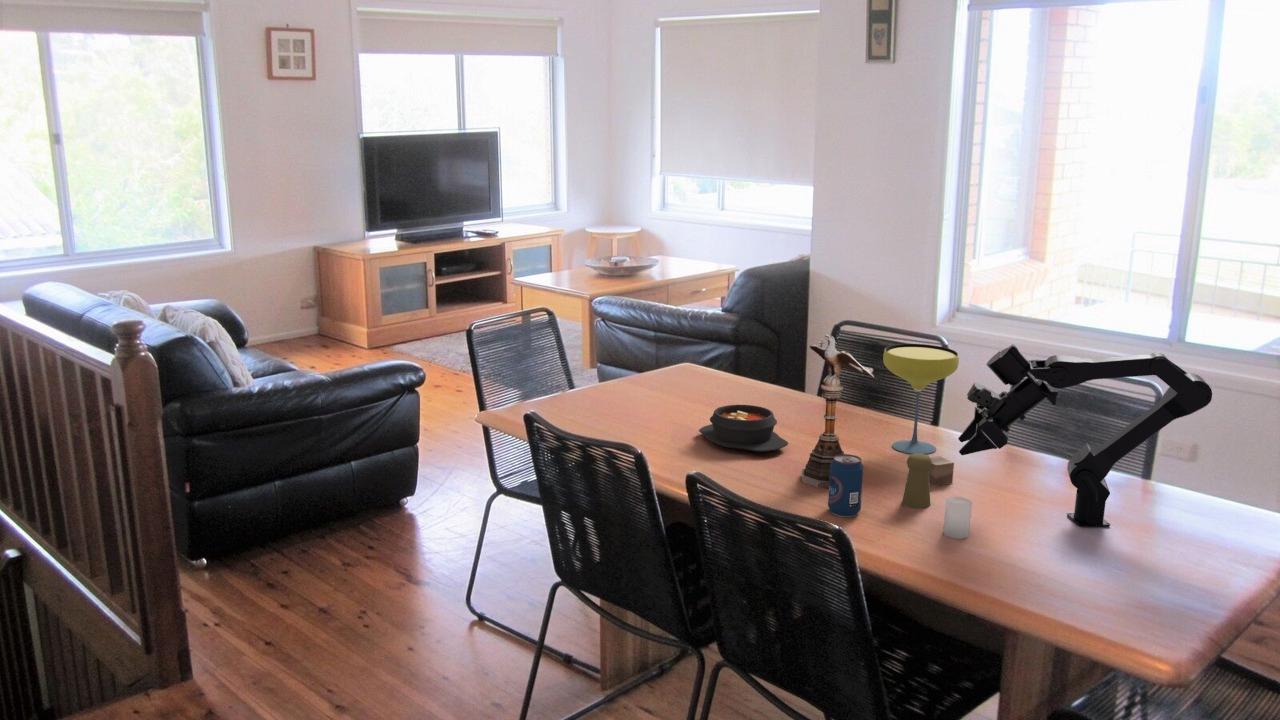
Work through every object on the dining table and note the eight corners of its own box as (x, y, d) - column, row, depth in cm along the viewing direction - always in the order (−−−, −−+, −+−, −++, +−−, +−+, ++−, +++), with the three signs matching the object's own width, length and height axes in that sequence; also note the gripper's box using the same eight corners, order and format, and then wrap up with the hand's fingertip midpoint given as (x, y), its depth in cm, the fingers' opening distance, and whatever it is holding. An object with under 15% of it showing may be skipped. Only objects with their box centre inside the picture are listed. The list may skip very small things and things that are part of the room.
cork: (931, 509, 226) (935, 460, 223) (902, 506, 227) (906, 458, 225) (929, 499, 232) (933, 451, 229) (901, 497, 233) (904, 449, 230)
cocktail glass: (876, 455, 260) (883, 357, 255) (878, 434, 278) (884, 341, 272) (952, 462, 256) (961, 362, 251) (949, 440, 273) (957, 346, 268)
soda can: (821, 508, 226) (824, 455, 223) (849, 504, 228) (852, 451, 225) (838, 520, 219) (841, 465, 217) (867, 516, 222) (870, 461, 219)
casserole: (804, 448, 265) (805, 416, 263) (752, 464, 254) (753, 430, 252) (733, 425, 284) (734, 395, 282) (682, 438, 272) (683, 407, 270)
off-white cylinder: (972, 538, 211) (975, 505, 209) (948, 538, 211) (950, 506, 209) (964, 529, 216) (966, 496, 214) (939, 529, 215) (942, 496, 214)
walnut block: (952, 483, 242) (954, 462, 241) (934, 486, 240) (936, 465, 239) (938, 476, 247) (940, 456, 246) (920, 479, 245) (922, 458, 244)
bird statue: (831, 462, 255) (839, 320, 247) (875, 476, 246) (885, 329, 237) (785, 476, 245) (792, 328, 237) (829, 492, 235) (837, 338, 227)
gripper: (991, 362, 228) (934, 407, 233) (995, 383, 210) (933, 431, 216) (1026, 400, 228) (968, 444, 233) (1033, 424, 210) (970, 471, 216)
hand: (959, 446), depth 224 cm, fingers open, 9 cm apart
